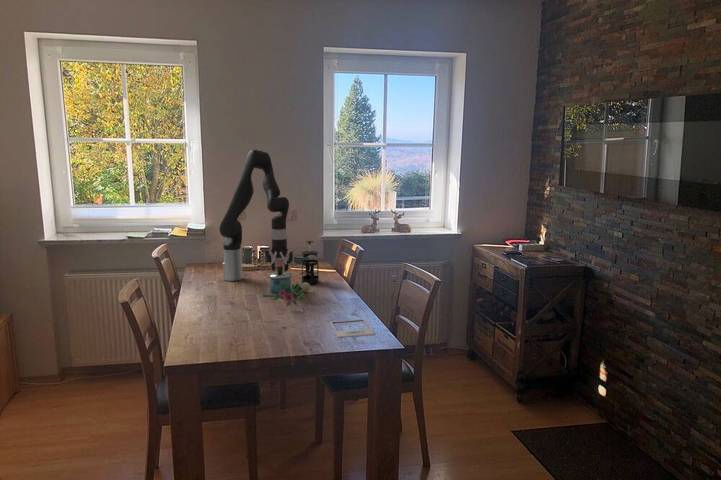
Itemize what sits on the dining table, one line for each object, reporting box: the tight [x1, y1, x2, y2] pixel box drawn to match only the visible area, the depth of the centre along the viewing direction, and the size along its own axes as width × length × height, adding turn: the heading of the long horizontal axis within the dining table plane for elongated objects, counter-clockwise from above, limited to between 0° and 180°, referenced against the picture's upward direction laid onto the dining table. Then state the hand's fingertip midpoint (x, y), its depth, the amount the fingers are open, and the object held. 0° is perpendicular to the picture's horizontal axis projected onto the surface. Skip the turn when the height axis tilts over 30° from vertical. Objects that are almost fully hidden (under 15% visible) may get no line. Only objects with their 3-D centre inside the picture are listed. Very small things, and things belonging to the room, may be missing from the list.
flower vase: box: [273, 282, 311, 306], centre depth 259 cm, size 12×12×35 cm
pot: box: [262, 277, 295, 298], centre depth 273 cm, size 14×14×9 cm
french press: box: [300, 240, 320, 286], centre depth 291 cm, size 12×9×23 cm
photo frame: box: [329, 318, 375, 339], centre depth 222 cm, size 15×1×18 cm
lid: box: [268, 265, 292, 279], centre depth 272 cm, size 11×11×5 cm
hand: (280, 270), depth 272 cm, fingers open, 5 cm apart
